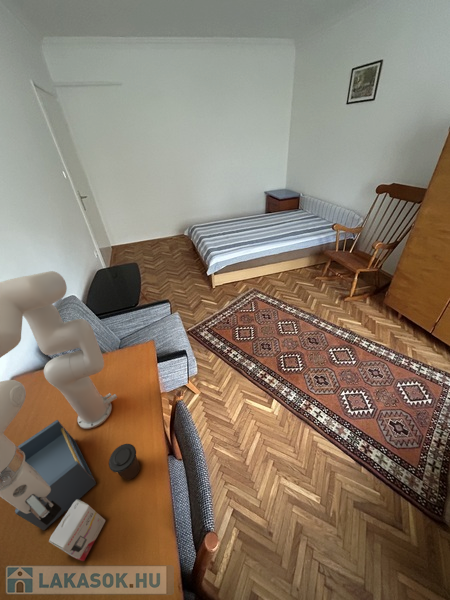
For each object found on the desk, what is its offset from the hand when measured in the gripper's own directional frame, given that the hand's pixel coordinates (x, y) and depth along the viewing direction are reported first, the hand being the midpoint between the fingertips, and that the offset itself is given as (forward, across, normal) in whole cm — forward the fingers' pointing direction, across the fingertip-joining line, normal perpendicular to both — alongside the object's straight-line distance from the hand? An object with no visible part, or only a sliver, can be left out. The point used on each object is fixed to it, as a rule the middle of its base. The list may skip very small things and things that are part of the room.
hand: (43, 502), depth 54 cm
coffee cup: (+22, 0, -17) cm, 28 cm away
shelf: (+22, +19, -4) cm, 29 cm away
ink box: (+23, -2, 0) cm, 23 cm away
